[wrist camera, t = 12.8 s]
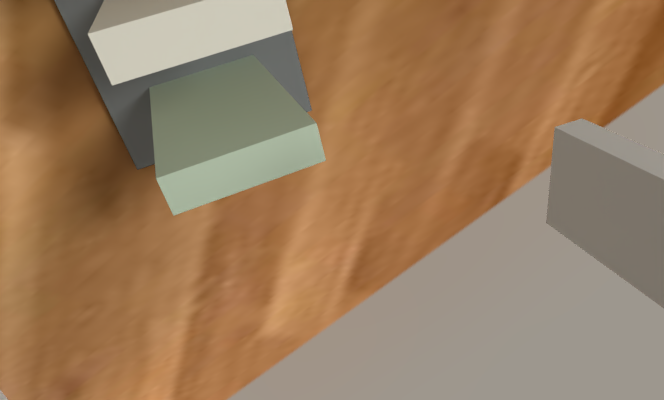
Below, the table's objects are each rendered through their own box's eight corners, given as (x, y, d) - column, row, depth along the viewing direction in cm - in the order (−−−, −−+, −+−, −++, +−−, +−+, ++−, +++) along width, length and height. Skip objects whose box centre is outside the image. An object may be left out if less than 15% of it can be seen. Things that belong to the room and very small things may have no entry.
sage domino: (149, 87, 27) (156, 178, 17) (253, 54, 28) (316, 122, 18) (160, 114, 28) (173, 215, 18) (261, 81, 29) (326, 160, 19)
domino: (108, -9, 24) (87, 33, 14) (224, -41, 25) (280, -22, 15) (122, 24, 25) (112, 85, 15) (234, -8, 26) (293, 29, 16)
